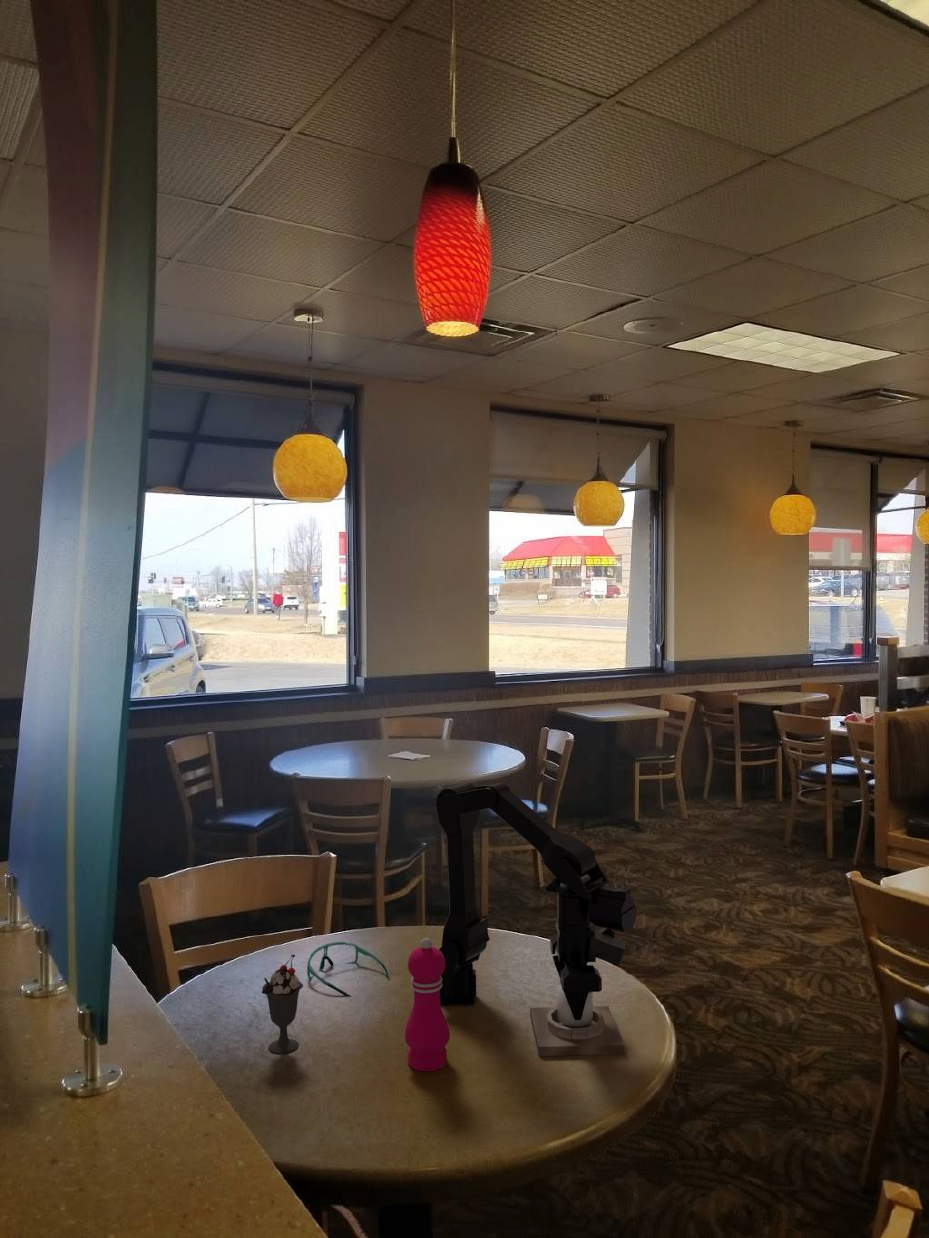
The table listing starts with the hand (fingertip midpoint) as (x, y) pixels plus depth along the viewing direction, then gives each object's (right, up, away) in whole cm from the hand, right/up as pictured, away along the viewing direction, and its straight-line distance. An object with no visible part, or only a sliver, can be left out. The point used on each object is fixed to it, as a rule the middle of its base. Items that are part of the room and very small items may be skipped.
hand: (574, 1010), depth 153 cm
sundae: (-49, -5, -3) cm, 49 cm away
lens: (0, -1, 0) cm, 1 cm away
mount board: (0, -4, 0) cm, 4 cm away
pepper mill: (-25, -5, -9) cm, 27 cm away
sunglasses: (-42, -5, +24) cm, 49 cm away
